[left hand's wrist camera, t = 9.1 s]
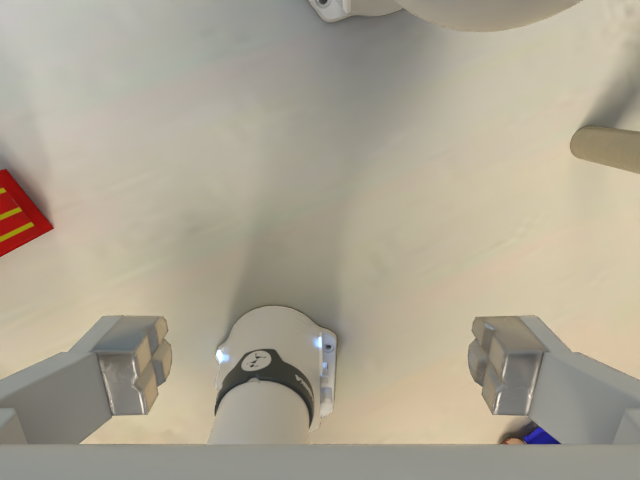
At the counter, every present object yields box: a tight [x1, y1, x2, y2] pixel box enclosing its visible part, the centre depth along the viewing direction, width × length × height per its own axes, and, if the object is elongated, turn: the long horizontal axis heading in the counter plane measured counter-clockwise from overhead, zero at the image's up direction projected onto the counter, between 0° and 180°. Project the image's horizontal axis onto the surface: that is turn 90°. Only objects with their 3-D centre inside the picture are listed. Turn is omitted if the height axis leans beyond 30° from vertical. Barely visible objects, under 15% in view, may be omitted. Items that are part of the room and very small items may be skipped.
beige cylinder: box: [570, 126, 640, 174], centre depth 41 cm, size 4×4×17 cm
